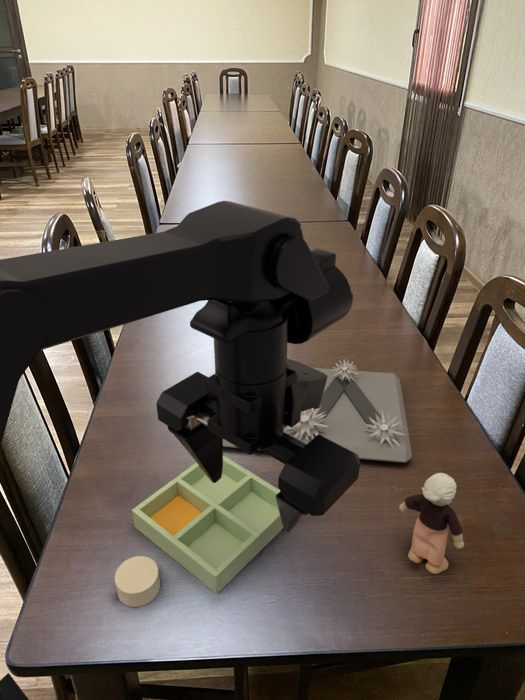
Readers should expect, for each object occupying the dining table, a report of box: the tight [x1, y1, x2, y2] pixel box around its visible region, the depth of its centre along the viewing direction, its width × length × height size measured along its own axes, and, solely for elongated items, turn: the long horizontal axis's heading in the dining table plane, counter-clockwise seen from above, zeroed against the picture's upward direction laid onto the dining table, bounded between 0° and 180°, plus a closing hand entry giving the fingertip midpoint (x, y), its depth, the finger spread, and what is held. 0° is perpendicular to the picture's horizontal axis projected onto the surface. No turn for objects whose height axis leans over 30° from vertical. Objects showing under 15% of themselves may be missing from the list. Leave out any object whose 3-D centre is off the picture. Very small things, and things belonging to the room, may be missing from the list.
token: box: [114, 555, 161, 608], centre depth 58 cm, size 5×5×2 cm
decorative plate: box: [223, 358, 413, 464], centre depth 83 cm, size 30×22×7 cm
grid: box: [131, 454, 284, 595], centre depth 66 cm, size 14×14×3 cm
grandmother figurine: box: [398, 472, 465, 575], centre depth 59 cm, size 8×4×13 cm, turn 58°
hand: (251, 503), depth 51 cm, fingers open, 9 cm apart
